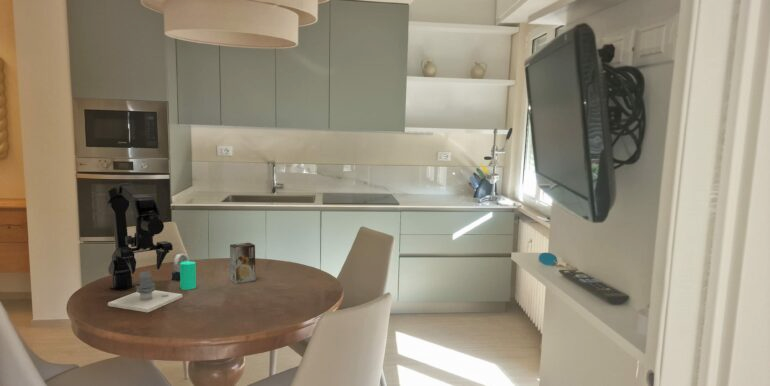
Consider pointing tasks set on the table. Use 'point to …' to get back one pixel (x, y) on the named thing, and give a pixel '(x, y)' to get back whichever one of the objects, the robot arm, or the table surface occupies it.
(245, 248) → the coffee box
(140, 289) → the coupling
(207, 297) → the table surface
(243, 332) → the table surface
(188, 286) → the candle
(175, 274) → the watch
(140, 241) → the robot arm
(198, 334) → the table surface
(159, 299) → the post plate
